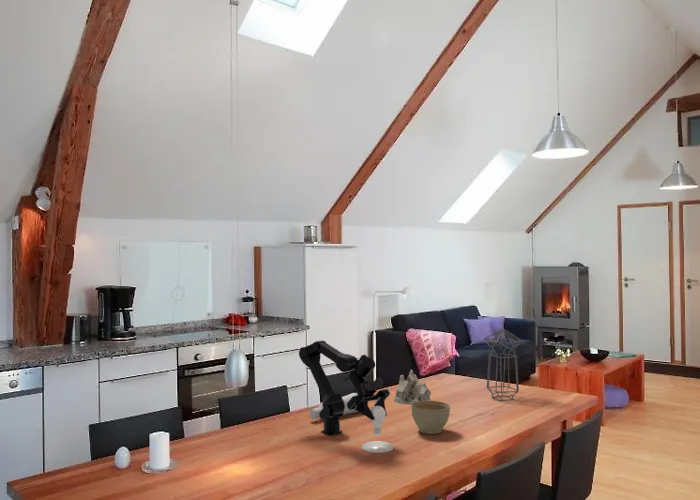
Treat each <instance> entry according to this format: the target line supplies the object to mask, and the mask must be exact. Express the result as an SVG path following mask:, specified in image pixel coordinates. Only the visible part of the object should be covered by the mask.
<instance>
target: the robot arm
mask: <svg viewBox="0 0 700 500" xmlns="http://www.w3.org/2000/svg"><path fill="white" fill-rule="evenodd" d="M321 355H323V356H324V357H325V358H327V359H329V360H330V361H332V362H334V363H335V367H336V368H337V369H338V370H339V371H340V372H341V373H347V372H349V373H348V374H345V377H344V381H345V382H349V383H350V384H351V386H352V388H353V389H354V390H352V393H357V395H356V396H353V397H352V398H351V399H350V400H349V401H348V403H347V407H348V409H349V410H353V409H355V407H356V409H355V411H358V412H357V413H361V414H362V415H363V416H365V417H366V418H367V419H369V420H374V416H373V414H372V412H371V411H370V409H371V408H370V406H369V402H375V403H374V405H373V407H374V406H381V407H382V408H383V409H384V410H385V412H386V416H385V418H386V417H387V416H388V414H387V410H386V404H385V401H386V400H387V399H388V397H389V396H390V395H391V393H390V391H389V389H387V388H384V389H382V388H383V386H384V385H385V384H384V380H383V379H382V378H381V377H378V378H375V380H372V381H371V380H367V379H366V377H368V375H369V374H371V372H372V371H373V370H374V369H375V367H376V362H375V360H373V358H371V357H369V356H367V355H366V354H362V355H360V357H359V359H358V358H357V357H356V355H351V354H348V353H343V352H341V351H339V350H338V349H337V348H335V347H333V346H332V345H330V344H329V343H327V341H326V340H317V341H314V342H313V343H310V344H308V345H306V346H302V347H300V349H299V351H298V356H299V359H300V360H301V362H302V364H304V365H305V366H306V367H308V368H309V370H310V372H311V374H312V377H313V379H314V381H315V384H316V386H317V387H318V390H319V392H320V394H321V397H322V401H321V403H322V405H323V409H322V410H321V411H320V413H319V415H320V418H319V419H321V420H323V430H320V433H323V434H325V435H329V436H333V435H337V434H340V433H342V432H343V430H340V429H341V426H340V424H341V423H340V418H342V417H343V416H344V415H343V413H344V409H345V404H344V400H343V399H342V397H343V396H342V394H341V393H336V392H335V391H334V389H333V387H332V386H331V383H330V381H329V379H328V377H327V375H326V373H325V370H324V368H323V367H322V364H321ZM379 389H380V390H379ZM377 390H378V391H377ZM375 393H376V394H375ZM355 405H356V406H355Z"/></svg>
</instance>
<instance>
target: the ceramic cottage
mask: <svg viewBox="0 0 700 500" xmlns="http://www.w3.org/2000/svg"><path fill="white" fill-rule="evenodd" d="M395 391H396V393H395V396H394V399H393V402H394V403H398V404H404V405H406V404H407V405H408V404H409V405H411V404H412V403H413V402H417V401H431V395H432V392H431V391H430V390H429V388H428V387H427V384H426V382H424V381H423V383H422V382H419V378H418V377H417V375H416V373H415V374H414V371H413V369H410V371H409V374H408V375H407V377H406V379H405V376H404V374H402V375H401V374H400V376H399V381H398V385H397V386H396V388H395Z"/></svg>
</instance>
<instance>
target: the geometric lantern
mask: <svg viewBox="0 0 700 500" xmlns="http://www.w3.org/2000/svg"><path fill="white" fill-rule="evenodd" d="M490 337H491V338H490ZM516 339H517V340H516ZM483 340H484V341H485V342H486V344H487V345H488V362H487V363H488V364H487V365H488V366H487V375H486V376H487V379H486V389H487V390H488V391H489V392H490V393H491V398H492V399H493V400H494V399H495V400H497V401H500V402H505V401H506V399H503V398H504V397H505V398H506V397H507V398H508V399H507V401H513V400H514V397H515V396H516V394H517V393H518V392H519V391H520V390H519V389H520V387H519V386H520V385H519V384H520V383H519V369H518V367H519V365H518V364H519V363H518V362H519V361H518V355H517V352H516V348H518V347H519V345H521V344H522V343H524V342H525V341H524V340H523V339H521V338H520V337H518V336H517V335H514V333H512V332H510V331H508V330H507V329H505V328H502V329H500V330H497V331H496V332H494V333H492V334H490V335H488V336H486V337H484V338H483ZM507 340H508V341H509V342H507ZM490 344H491V345H490ZM505 344H506V345H505ZM508 344H511V347H509V345H508ZM501 345H502V346H503V347H504V350H503V348H502V347H501ZM495 346H497V347H498V346H499V348H500V349H501V350H502V353H500V354H499V356H498V353H497V352H496V350H495ZM491 348H492V349H491ZM490 350H491V351H490ZM506 350H509V351H508V353H506V352H505V351H506ZM493 351H494V353H493ZM511 352H512V353H513V354H510V353H511ZM502 355H504V356H502ZM492 357H494V358H496V369H495V373H496V374H495V386H490V378H491V377H490V376H491V368H492V367H491V365H492ZM510 358H511V359H512V358H514V367H515V368H514V369H515V370H514V371H515V383H516V388H514V387H510ZM498 359H499V360H498ZM502 359H504V361H503V362H504V364H503V372H502ZM506 359H507V376H508V377H507V379H508V380H507V382H508V383H507V385H508V386H507V385H506V386H505V376H506ZM498 362H499V363H498ZM499 365H500V366H499ZM498 366H499V370H500V373H499V374H500V385H497V383H498ZM502 373H503V374H502ZM502 376H503V379H502ZM502 380H503V381H502ZM493 388H495V390H494V389H493ZM498 388H500V391H497V389H498ZM505 388H507V389H506V390H505ZM509 389H511V390H510V391H509ZM512 390H513V391H512ZM513 393H514V394H513ZM506 394H507V395H506ZM494 395H495V396H494ZM496 397H497V398H496ZM498 397H499V398H501V399H499V398H498Z"/></svg>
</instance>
